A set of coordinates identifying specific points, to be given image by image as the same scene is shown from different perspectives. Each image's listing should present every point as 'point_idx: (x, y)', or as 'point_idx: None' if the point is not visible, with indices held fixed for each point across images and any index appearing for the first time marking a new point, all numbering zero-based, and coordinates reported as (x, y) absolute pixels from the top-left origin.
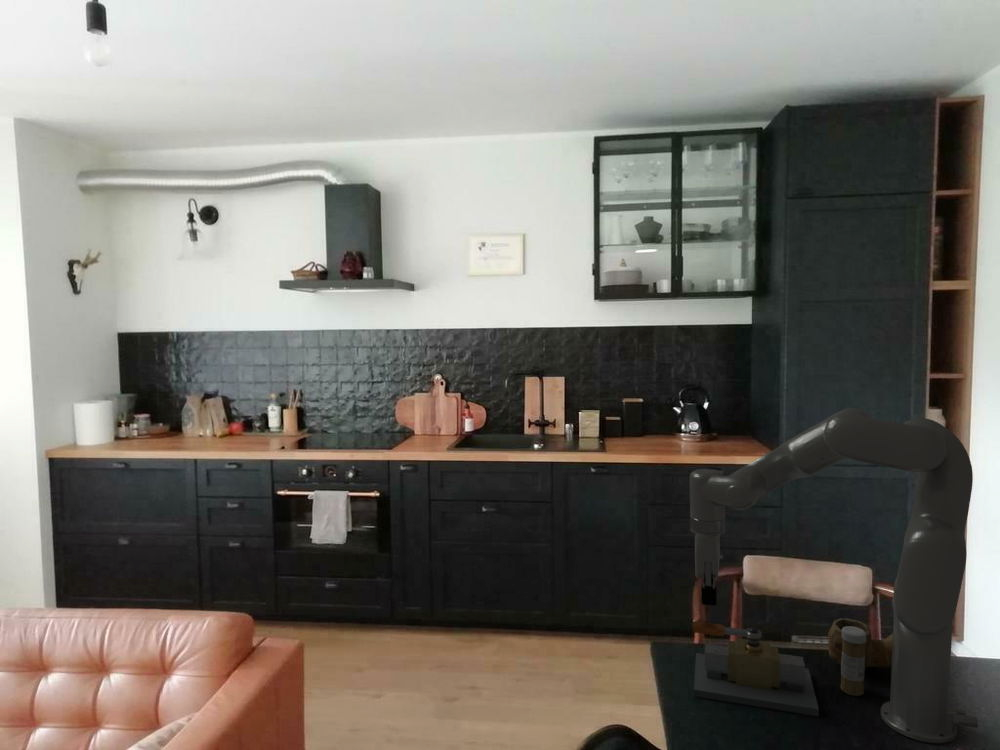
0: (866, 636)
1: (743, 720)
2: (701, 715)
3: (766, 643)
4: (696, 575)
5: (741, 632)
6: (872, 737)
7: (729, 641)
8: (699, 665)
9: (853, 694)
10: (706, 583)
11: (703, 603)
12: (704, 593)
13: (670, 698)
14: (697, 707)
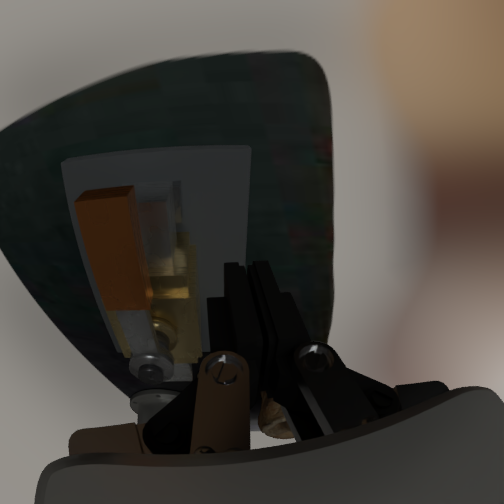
0: (266, 434)
1: (44, 253)
2: (20, 185)
3: (194, 352)
4: (39, 483)
5: (131, 347)
6: (111, 376)
7: (180, 278)
8: (179, 160)
9: (197, 377)
10: (72, 452)
11: (224, 271)
12: (229, 323)
13: (44, 113)
14: (37, 173)
